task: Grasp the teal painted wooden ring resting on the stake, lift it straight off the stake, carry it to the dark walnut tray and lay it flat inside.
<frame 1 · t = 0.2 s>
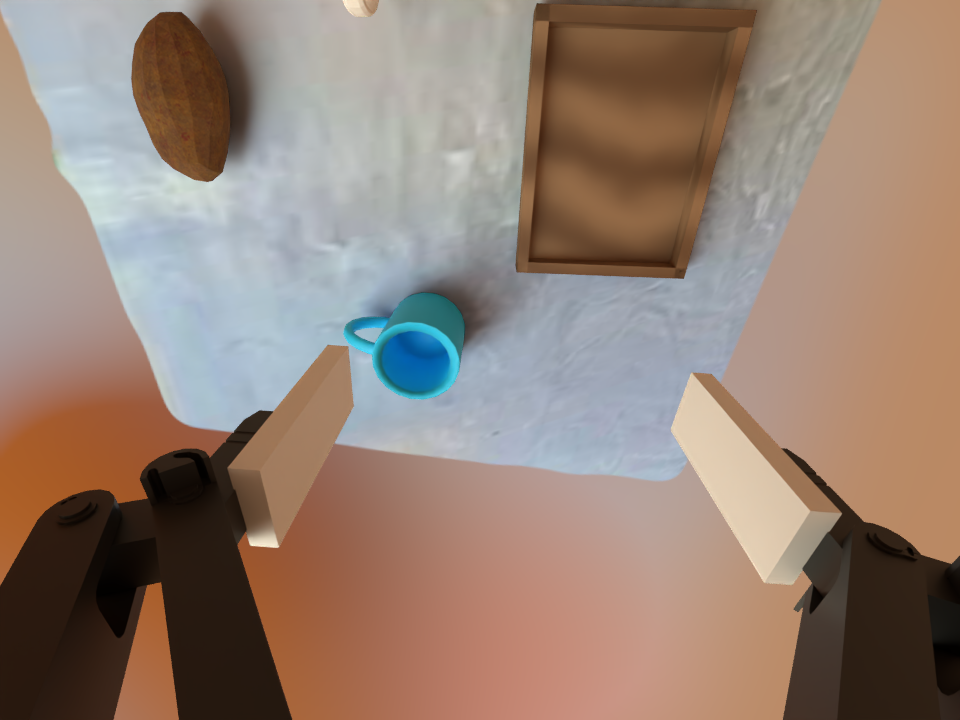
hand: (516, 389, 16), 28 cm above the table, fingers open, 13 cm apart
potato: (210, 106, 36), on the table
mug: (411, 323, 45), on the table
tray: (612, 158, 37), on the table
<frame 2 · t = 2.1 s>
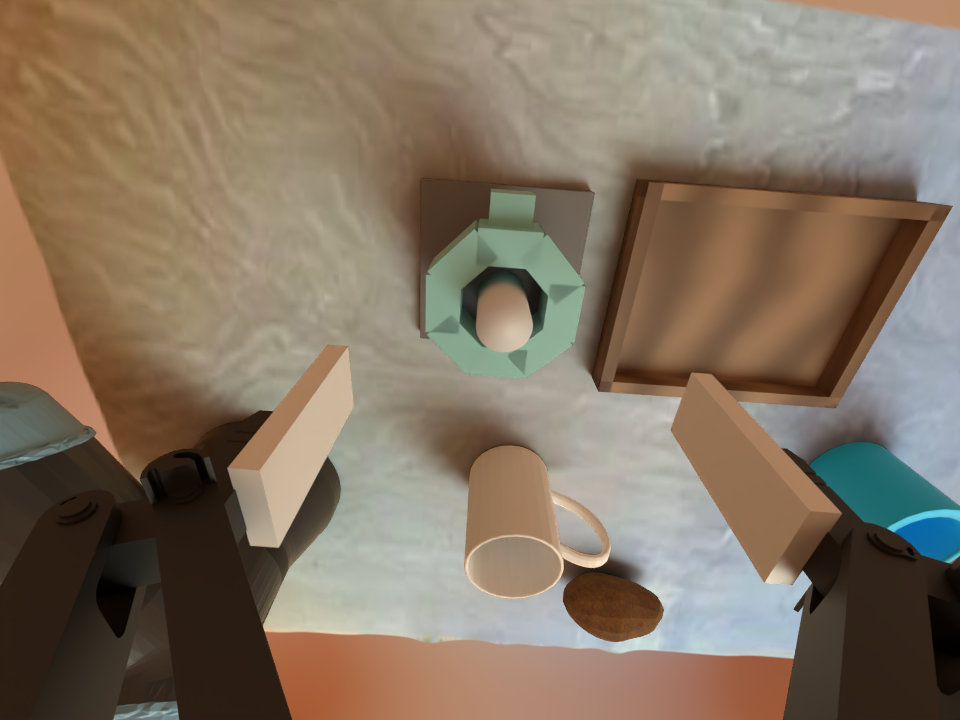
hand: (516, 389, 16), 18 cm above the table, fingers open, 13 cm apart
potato: (603, 577, 49), on the table
ring: (501, 293, 26), point 6 cm above the table, touching stake
mug: (831, 485, 42), on the table
mug 2: (529, 473, 42), on the table
stake: (499, 268, 32), on the table
tray: (736, 298, 32), on the table
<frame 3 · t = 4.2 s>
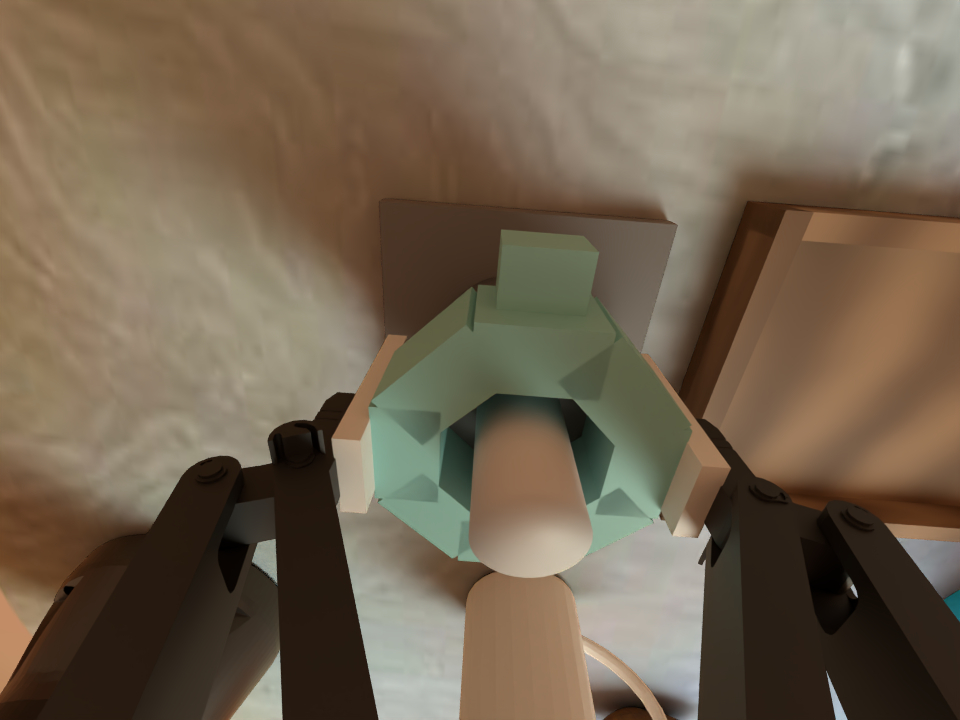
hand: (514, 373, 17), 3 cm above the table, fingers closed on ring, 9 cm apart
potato: (642, 709, 38), on the table
ring: (518, 408, 15), point 6 cm above the table, touching gripper, stake
mug 2: (548, 598, 30), on the table
stake: (511, 338, 20), on the table
tray: (884, 384, 21), on the table
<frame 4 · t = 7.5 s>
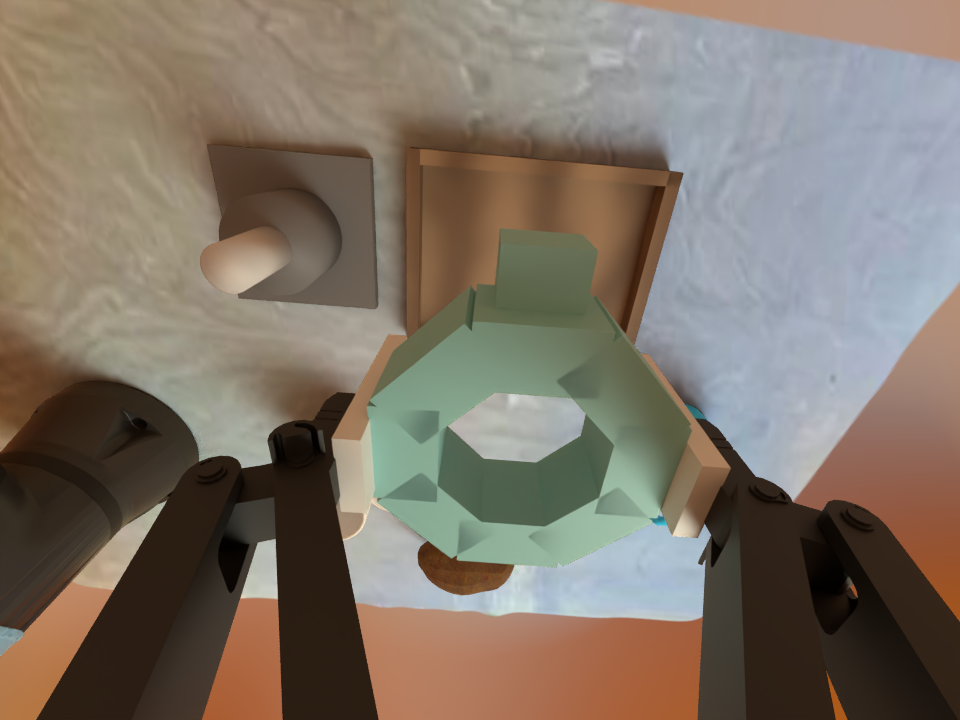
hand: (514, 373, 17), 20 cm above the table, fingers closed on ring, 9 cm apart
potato: (466, 538, 52), on the table
ring: (517, 407, 15), point 23 cm above the table, touching gripper
mug 2: (374, 434, 44), on the table
stake: (303, 231, 34), on the table
tray: (527, 262, 35), on the table
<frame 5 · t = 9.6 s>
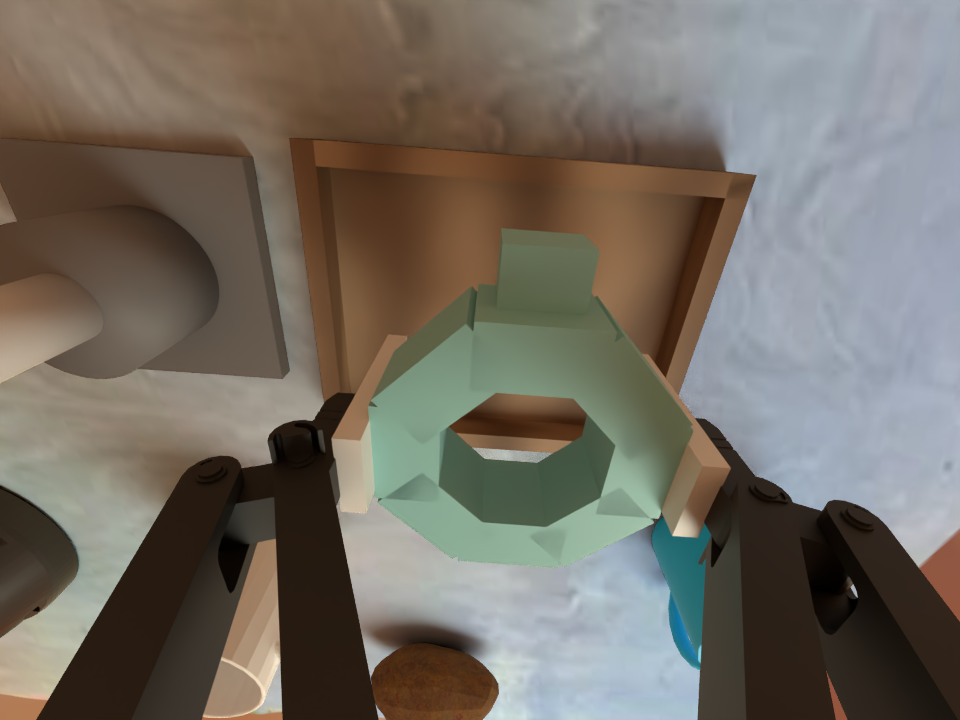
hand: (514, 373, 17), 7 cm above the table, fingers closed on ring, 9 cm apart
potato: (439, 646, 40), on the table
ring: (518, 408, 15), point 10 cm above the table, touching gripper
mug: (692, 546, 33), on the table
mug 2: (306, 530, 33), on the table
stake: (164, 269, 23), on the table
tray: (504, 311, 23), on the table
when the fingers open (3 cm above the table, at t = 11.2 s): ring drops 5 cm, resting on tray.
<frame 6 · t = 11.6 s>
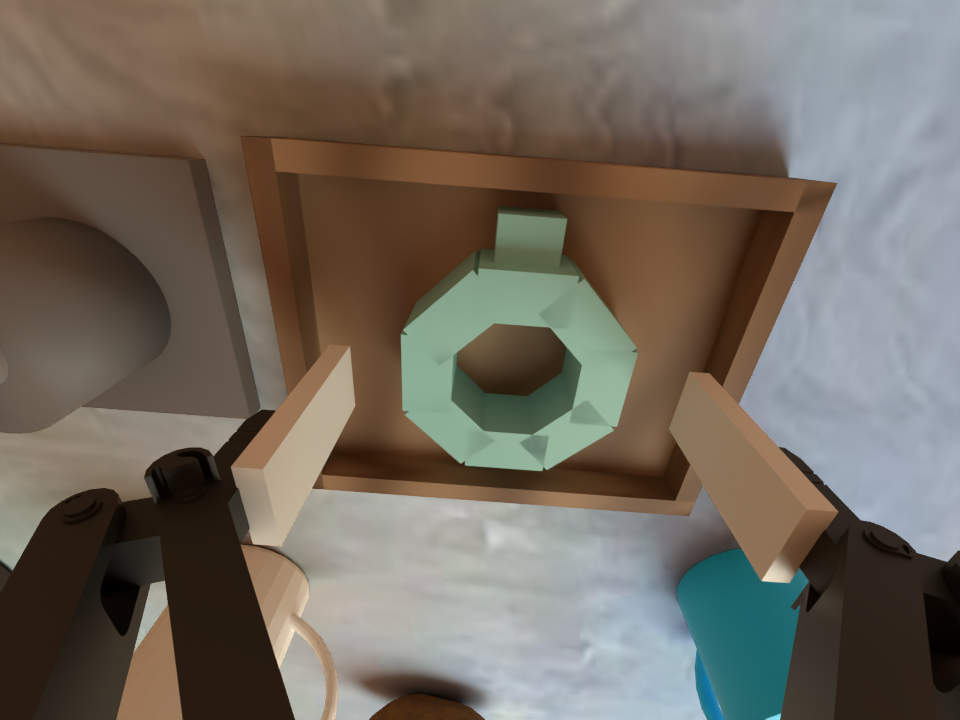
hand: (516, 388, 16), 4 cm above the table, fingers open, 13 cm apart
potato: (436, 696, 37), on the table
ring: (511, 349, 19), point 1 cm above the table, touching tray
mug: (721, 599, 29), on the table
mug 2: (286, 577, 29), on the table
stake: (107, 292, 19), on the table
tray: (511, 342, 20), on the table
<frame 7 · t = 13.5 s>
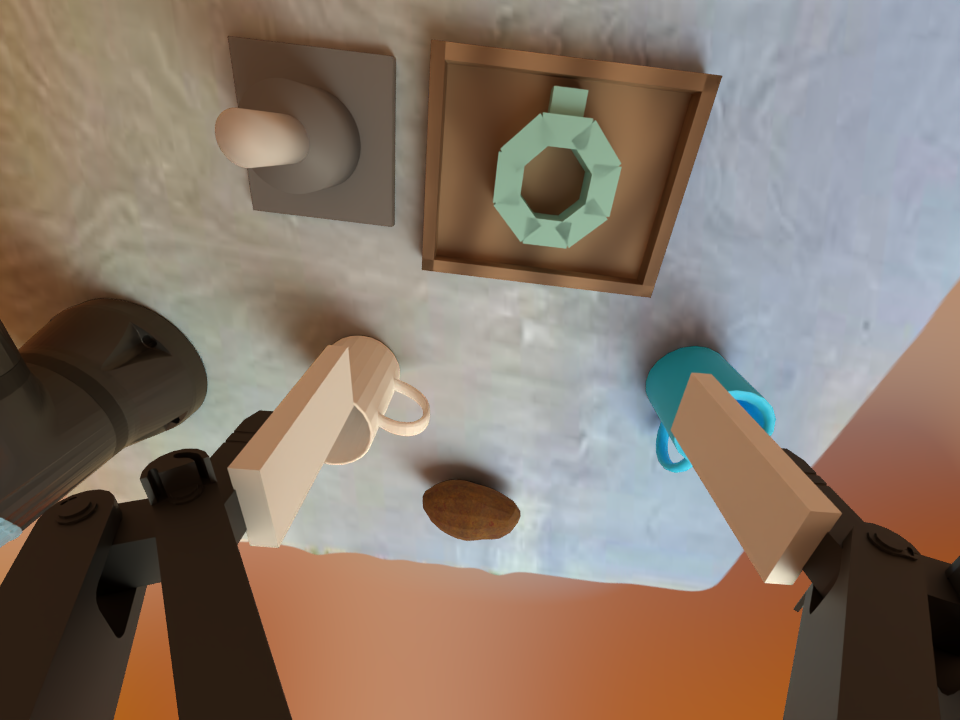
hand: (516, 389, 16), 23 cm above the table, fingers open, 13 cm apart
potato: (472, 488, 51), on the table
ring: (551, 181, 33), point 1 cm above the table, touching tray
mug: (676, 395, 43), on the table
mug 2: (384, 368, 43), on the table
stake: (321, 139, 33), on the table
tray: (550, 181, 34), on the table
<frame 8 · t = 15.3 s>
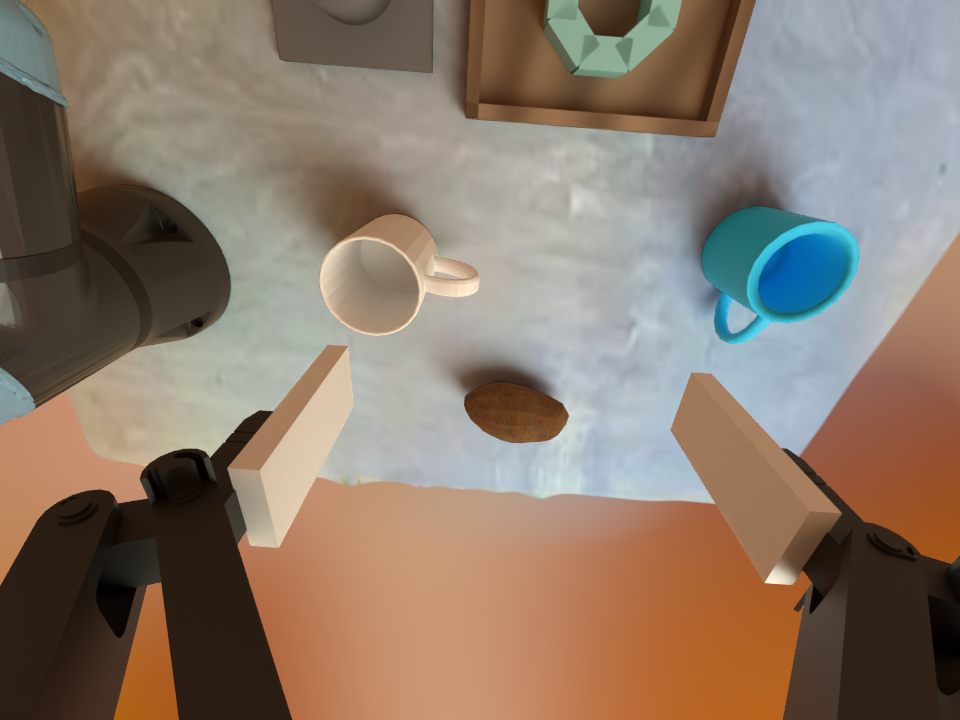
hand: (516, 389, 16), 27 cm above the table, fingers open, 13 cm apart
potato: (513, 396, 48), on the table
ring: (606, 3, 30), point 1 cm above the table, touching tray
mug: (733, 269, 40), on the table
mug 2: (420, 255, 41), on the table
tray: (604, 7, 31), on the table
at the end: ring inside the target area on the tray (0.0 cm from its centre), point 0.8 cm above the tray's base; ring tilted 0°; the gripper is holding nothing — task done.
